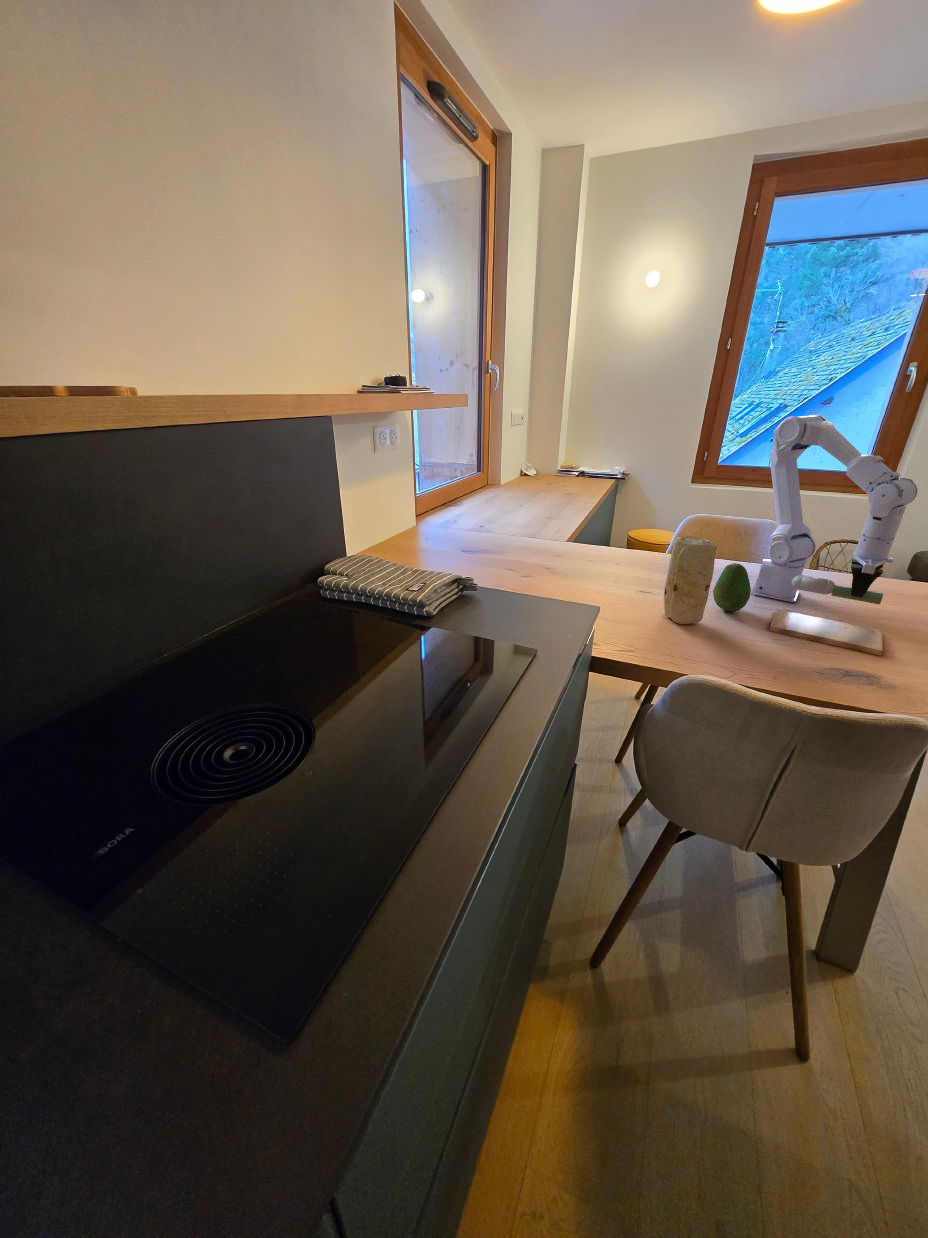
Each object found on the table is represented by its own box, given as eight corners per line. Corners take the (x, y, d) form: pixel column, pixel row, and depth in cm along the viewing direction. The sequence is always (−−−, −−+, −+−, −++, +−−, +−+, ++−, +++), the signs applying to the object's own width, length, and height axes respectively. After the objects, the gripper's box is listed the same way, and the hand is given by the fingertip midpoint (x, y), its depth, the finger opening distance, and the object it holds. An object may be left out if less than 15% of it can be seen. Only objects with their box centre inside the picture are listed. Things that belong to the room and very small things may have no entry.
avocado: (717, 601, 127) (727, 556, 121) (749, 609, 122) (761, 563, 116) (704, 610, 122) (714, 564, 116) (738, 620, 117) (750, 572, 111)
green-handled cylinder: (879, 601, 112) (884, 586, 111) (879, 606, 110) (885, 592, 108) (791, 585, 122) (795, 571, 120) (789, 590, 119) (793, 576, 117)
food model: (706, 620, 117) (724, 538, 108) (696, 630, 112) (714, 545, 103) (665, 609, 122) (679, 531, 114) (654, 618, 118) (668, 537, 109)
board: (769, 630, 111) (770, 625, 111) (776, 613, 119) (777, 609, 119) (880, 655, 101) (882, 650, 100) (880, 635, 108) (881, 630, 108)
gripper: (902, 547, 99) (879, 608, 105) (899, 531, 110) (878, 587, 116) (859, 542, 103) (839, 601, 109) (860, 526, 114) (841, 581, 120)
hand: (856, 594), depth 113 cm, fingers closed on green-handled cylinder, 2 cm apart
